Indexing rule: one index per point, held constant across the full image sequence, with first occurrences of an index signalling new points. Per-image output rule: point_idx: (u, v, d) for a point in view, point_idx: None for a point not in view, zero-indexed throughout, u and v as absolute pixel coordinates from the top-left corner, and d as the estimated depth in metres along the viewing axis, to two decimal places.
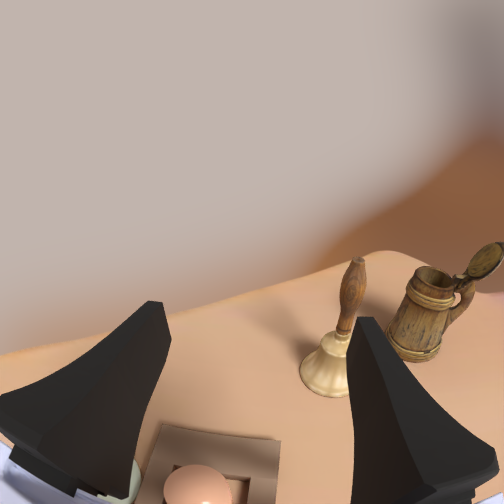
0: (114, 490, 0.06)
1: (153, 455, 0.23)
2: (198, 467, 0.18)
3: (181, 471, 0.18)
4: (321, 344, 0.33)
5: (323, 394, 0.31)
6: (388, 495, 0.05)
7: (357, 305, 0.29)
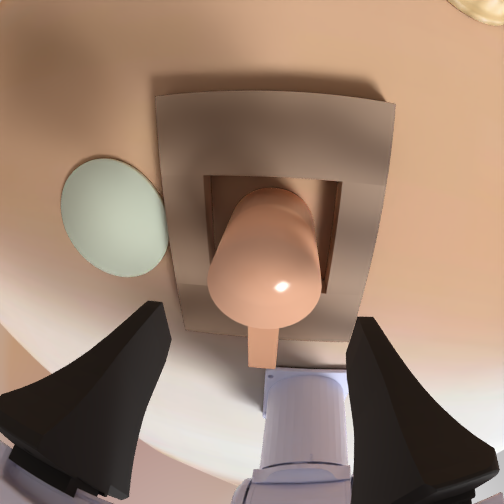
0: (114, 490, 0.06)
1: (164, 167, 0.15)
2: (257, 242, 0.12)
3: (227, 256, 0.12)
4: None
5: (459, 8, 0.09)
6: (388, 495, 0.05)
7: None
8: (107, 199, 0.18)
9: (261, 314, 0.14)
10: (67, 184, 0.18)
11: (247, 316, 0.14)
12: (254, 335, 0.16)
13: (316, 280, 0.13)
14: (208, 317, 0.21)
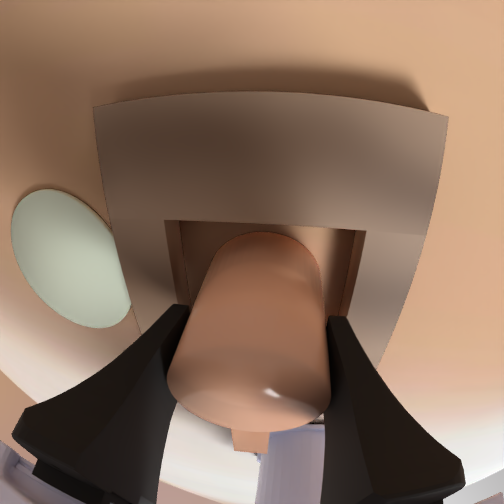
0: (143, 500, 0.06)
1: (111, 208, 0.11)
2: (234, 352, 0.07)
3: (191, 363, 0.08)
4: None
5: None
6: (346, 500, 0.05)
7: None
8: (57, 240, 0.13)
9: (245, 420, 0.09)
10: (14, 219, 0.13)
11: (227, 420, 0.09)
12: None
13: (324, 392, 0.08)
14: None
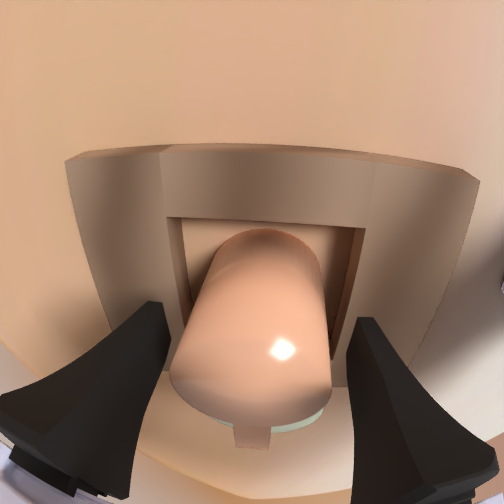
0: (114, 490, 0.06)
1: None
2: (236, 345, 0.07)
3: (194, 357, 0.08)
4: None
5: None
6: (388, 495, 0.05)
7: None
8: None
9: (247, 414, 0.09)
10: (220, 421, 0.21)
11: (229, 415, 0.10)
12: (240, 424, 0.11)
13: (324, 386, 0.08)
14: None
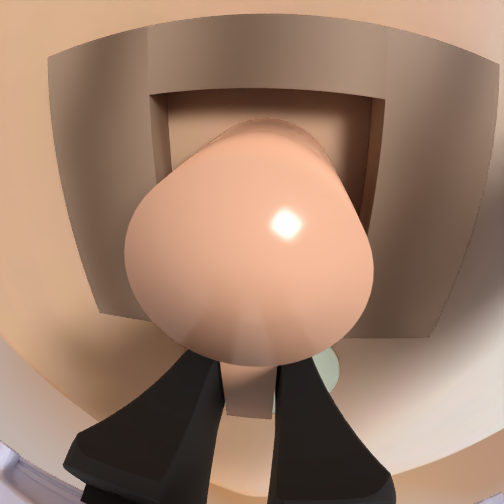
0: None
1: None
2: (222, 173, 0.05)
3: (158, 211, 0.05)
4: None
5: None
6: (271, 500, 0.05)
7: None
8: None
9: (240, 340, 0.07)
10: None
11: (213, 343, 0.07)
12: (232, 372, 0.08)
13: (363, 268, 0.05)
14: (414, 305, 0.11)
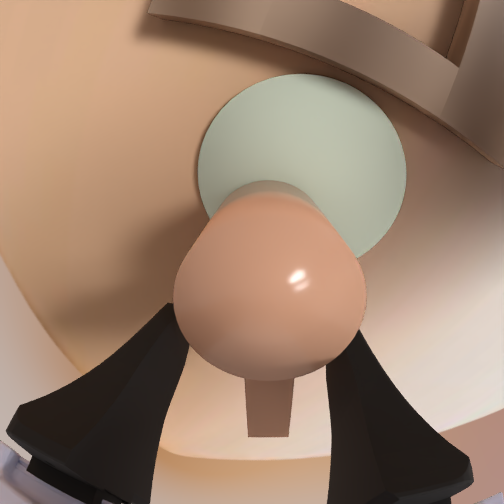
0: (137, 498, 0.06)
1: (248, 26, 0.08)
2: (256, 225, 0.07)
3: (205, 254, 0.07)
4: None
5: None
6: (356, 499, 0.05)
7: None
8: (267, 161, 0.12)
9: (266, 357, 0.08)
10: None
11: (244, 362, 0.08)
12: (255, 392, 0.09)
13: (358, 288, 0.07)
14: (501, 115, 0.08)
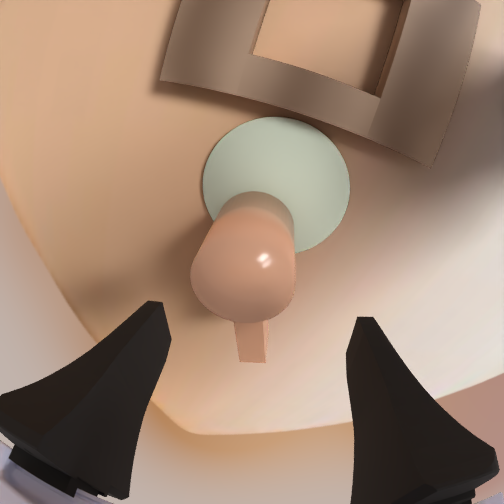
0: (114, 490, 0.06)
1: (229, 89, 0.14)
2: (230, 242, 0.13)
3: (205, 256, 0.14)
4: None
5: None
6: (388, 495, 0.05)
7: None
8: (249, 178, 0.18)
9: (242, 309, 0.15)
10: None
11: (230, 311, 0.15)
12: (241, 330, 0.17)
13: (289, 273, 0.14)
14: (421, 127, 0.14)
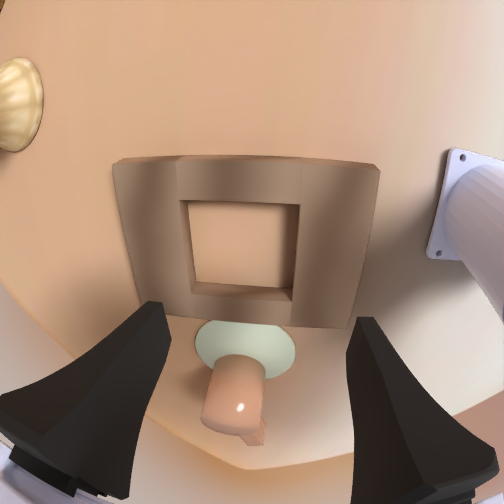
0: (114, 490, 0.06)
1: (189, 315, 0.23)
2: (215, 411, 0.21)
3: (205, 416, 0.22)
4: None
5: (40, 111, 0.16)
6: (388, 495, 0.05)
7: None
8: (225, 349, 0.26)
9: (235, 431, 0.23)
10: None
11: (229, 432, 0.23)
12: None
13: (252, 419, 0.22)
14: (330, 309, 0.21)
